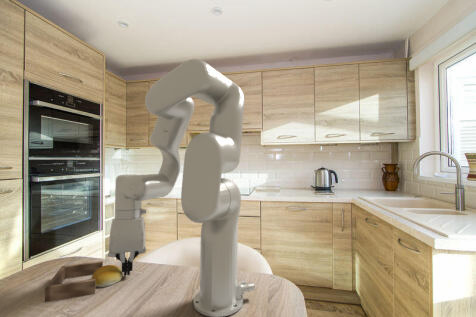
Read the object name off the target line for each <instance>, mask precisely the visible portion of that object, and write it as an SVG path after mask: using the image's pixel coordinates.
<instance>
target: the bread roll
mask: <svg viewBox="0 0 476 317" xmlns="http://www.w3.org/2000/svg"><path fill="white" fill-rule="evenodd" d="M123 276H124V272H122V268H120V267H119V266H118V265H115V264H106V265H103V266H102V267H101V268H99V269H98V270H96V271H95V272H94V273H93V275H91V279H96V287H95V288H107V287H111V286H113V285H115V284H117V283H119V282H120V281H121V280H122V279H123Z"/></svg>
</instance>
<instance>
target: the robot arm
mask: <svg viewBox="0 0 476 317" xmlns="http://www.w3.org/2000/svg"><path fill="white" fill-rule="evenodd" d="M192 97H193V98H196V99H198V100H201V101H202V102H205V103H207V104H210V105H213V106H214V108H213V110H212V111H211V114H210V119H209V127H208V128H209V130H208V131H207V132H201V133H198V134H196V135H195V136H194V137H193V138H192V139H191V140H190V141H189V143H188V145H187V147H186V150H185V153H184V158H183V167H182V169H183V171H182V180H181V182H182V183H181V191H180V195H181V196H180V198H181V199H180V202H181V208H182V211H183V214H184V215H185V217H186V218H188V219H189V220H190V221H191V222H194V223H197V224H201V228H200V250H199V252H200V256H199V257H200V258H199V260H200V261H199V265H200V267H199V291H197V293H196V294H195V295H194V297H193V307H194V309H195V310H196V312H198V313H199V314H201V315H203V316H206V317H227V316H231V315H233V314H235V313H237V312H238V311H239V310H241V308H242V307H243V304H244V296H243V295H244V293H247V292H248V293H250V292H253V291H255V290H256V288H255V283H254V282H249V283H247V281H246V280H245V279H244V280H240V281H238V251H239V250H238V248H239V247H238V245H239V244H238V242H239V239H238V238H239V221H240V219H239V218H240V213H241V204H242V195H241V192H240V189H239V186H238V185H237V184H236V183H235V182H234V181H232V180H231V179H229V178H225V177H222V174H227V173H232V172H233V171H235V170H236V169H237V168H238V165H239V164H240V160H241V153H242V152H241V151H242V150H241V148H242V140H243V139H242V137H243V124H244V114H245V104H246V102H245V96H244V92H243V91H242V89H241V87H240V86H239V85H238V84H236V82H234V81H233V80H231V79H230V78H228V77H227V76H225V75H223V74H222V73H221V72H220V71H218V70H217V69H215V68H214V67H213V66H212V65H210V64H209V63H207V62H206V61H204V60H203V59H200V58H192V59H188V60H186V61H184V62H182V63H180V64H179V65H178V66H177V67H175V68H173V69H172V70H171V71H169V72H168V73H166V74H165V75H163V76H162V77H161V78H159V79H158V80H156V82H154V83H153V84H152V85H151V87H150V88H149V89H148V90H147V92H146V94H145V99H144V104H145V108H146V110H147V112H149V114H152V115H153V116H156V117H157V118H156V119H157V120H156V121H155V125H154V126H153V129H152V132H151V133H150V134H151V135H150V136H149V141H150V143H151V145H152V146H154V147H155V148H157V149H158V150H159V151H160V153H161V157H162V162H161V165H160V169H159V171H158V173H151V174H120V175H118V176H116V178H115V188H114V189H115V190H114V191H115V196H114V218H112V220H111V224H110V230H109V239H108V241H109V242H108V254H107V257H108V258H116V259H117V260H119V261H120V263H121V271H122V273H123V276H124V277H126V276H130V275H131V272H133V266H134V265H133V262H134V260H135V259H136V258H137V257H138V256H139V255H142V254H145V253H146V252H147V249H146V225H145V224H146V223H145V219H144V218H145V217H144V216H143V215H146V214H147V209H143V208H142V204H143V203H142V202H143V201H148V200H152V199H153V200H154V199H159V198H164V197H167V196H168V195H170V193H171V192H172V191H173V190H174V187H175V185H176V182H177V181H178V177H179V175H180V171H181V157H180V156H181V155H180V153H179V149H180V145H181V143H182V141H183V138H184V136H185V134H186V132H187V129H188V126H189V124H190V121H191V119H192V117H193V115H194V112H195V102H194V100H193V98H192ZM126 253H130V254H129V257H128V259H127V257H126Z"/></svg>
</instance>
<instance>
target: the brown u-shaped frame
mask: <svg viewBox="0 0 476 317" xmlns="http://www.w3.org/2000/svg"><path fill="white" fill-rule="evenodd" d="M102 266H104V264H103V260H99V261H94V262H93V261H92V262H84V263H83V262H82V263H76V264H75V263H74V264H69V265H68V264H67V265H62V266H61V267H60V268H59V269H58V271H57V272H56V273H55V274H54V276H52V278H51V280H49V282H48V284H47V285H46V286H45V288H44V303H48V302H54V301H59V300H65V299H69V298H76V297H83V296H89V295H95V294H96V288H97V287H96V279H92V278H91V279H86V280H79V281H74V282H71V281H70V282H66V283H65V282H64V281H65V280H66V279H70V278H78V277H83V276H84V277H85V276H92V275H93V273H94V272H95V271H96V270H98V269H99V268H101V267H102ZM63 282H64V283H63Z"/></svg>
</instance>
